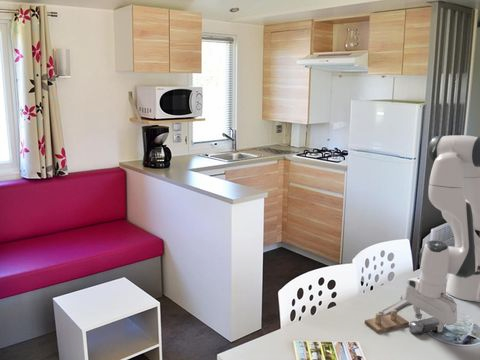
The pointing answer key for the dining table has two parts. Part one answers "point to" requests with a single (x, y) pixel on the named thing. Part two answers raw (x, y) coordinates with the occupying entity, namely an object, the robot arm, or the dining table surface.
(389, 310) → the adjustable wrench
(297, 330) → the dining table surface
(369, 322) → the peg rack
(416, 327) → the gray flashlight
